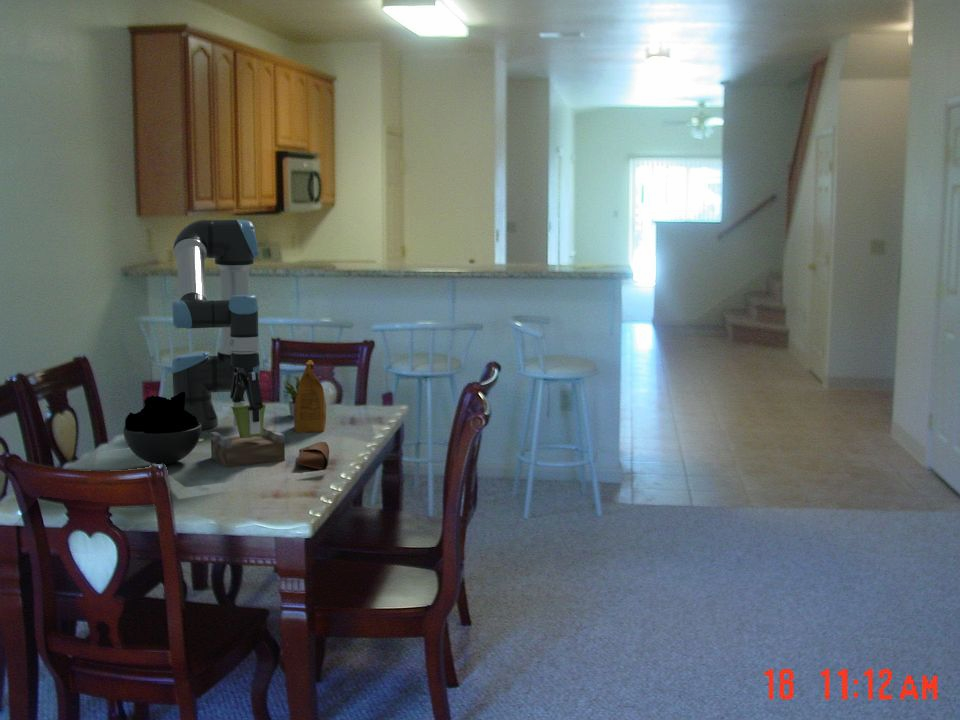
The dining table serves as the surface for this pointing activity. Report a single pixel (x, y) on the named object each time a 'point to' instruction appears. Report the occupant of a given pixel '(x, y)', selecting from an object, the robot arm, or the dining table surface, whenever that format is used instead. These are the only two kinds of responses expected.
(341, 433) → the dining table surface
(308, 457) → the sunglasses case
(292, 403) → the house plant
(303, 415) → the brown tall tapered bottle
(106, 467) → the dining table surface
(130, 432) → the coal bowl
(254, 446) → the raised riser
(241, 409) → the plant pot
